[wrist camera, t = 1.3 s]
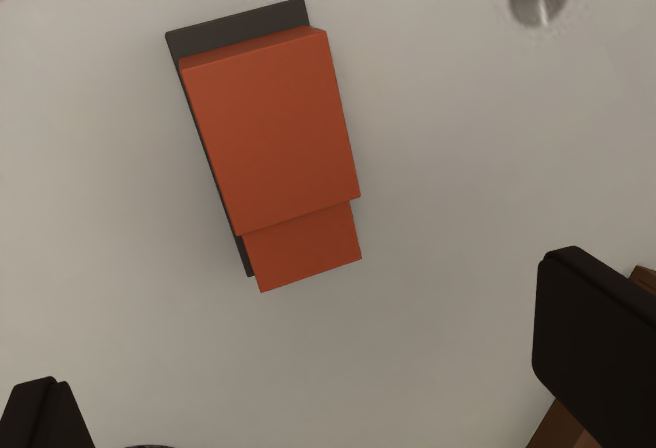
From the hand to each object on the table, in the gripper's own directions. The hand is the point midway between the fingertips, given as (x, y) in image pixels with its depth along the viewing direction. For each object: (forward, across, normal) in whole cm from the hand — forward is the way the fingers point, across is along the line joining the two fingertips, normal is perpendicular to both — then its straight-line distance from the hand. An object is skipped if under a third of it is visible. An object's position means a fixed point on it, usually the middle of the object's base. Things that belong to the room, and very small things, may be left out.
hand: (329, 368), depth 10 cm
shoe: (+17, -2, 0) cm, 17 cm away
